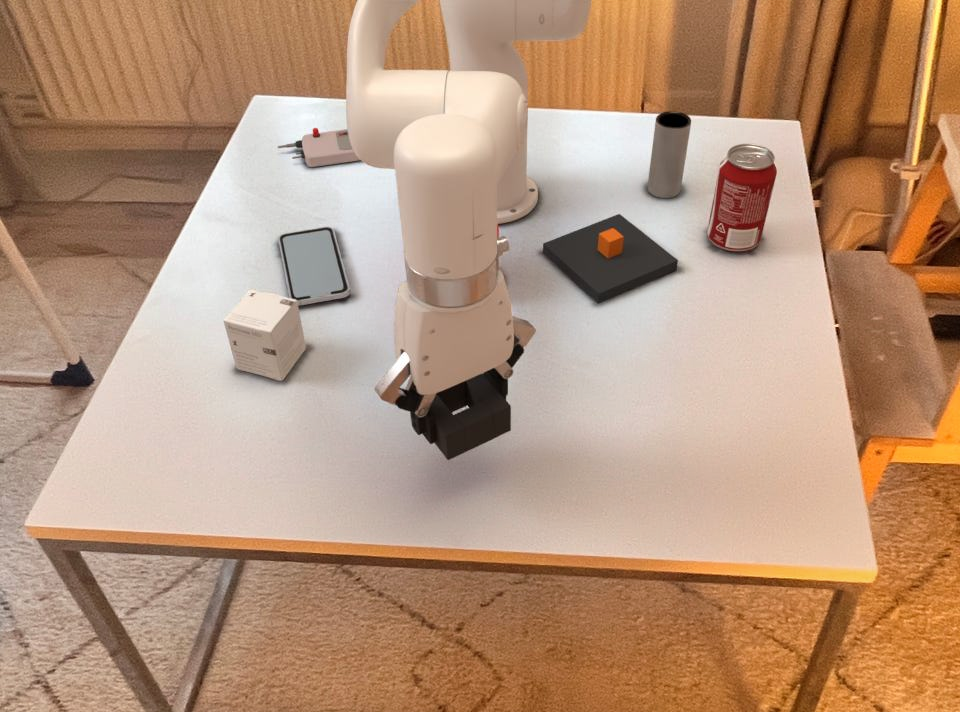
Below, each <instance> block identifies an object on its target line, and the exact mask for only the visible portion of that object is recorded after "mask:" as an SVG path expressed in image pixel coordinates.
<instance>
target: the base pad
mask: <svg viewBox="0 0 960 712" xmlns="http://www.w3.org/2000/svg"><path fill="white" fill-rule="evenodd" d="M542 254H543V255H544V256H545V257H546V258H547V259H548V260H550V261H551V262H552V263H553V264H554V265H555V266H556V267H557V268H558V269H560V271H562V272H563V273H564V274H565V275H566V276H567V277H568V278H569V279H571V280H572V281H573V282H574V283H575V285H577V286H579V287H580V289H582V290H583V291H584V292H585V293H586V294H587V295H589V297H590V298H591V299H593V300H594V301H595V302H596V303H597V304H600V303H602V302H604V301H607V300H610V299H612V298H614V297H616V296H619V295H621V294H623V293H625V292H628V291H631V290H633V289H635V288H637V287H640V286H642V285H645V284H647V283H649V282H652V281H654V280H656V279H659V278H661V277H664V276H666V275H669V274H670V273H673V272H675V271H677V270H678V264H679V260H678V259H677V258H676V257H675V256H674V255H672V254H671V253H669V252H668V251H667V250H666V249H665V248H664V247H662V246H661V245H660V244H658V243H657V242H656V241H655V240H653V239H652V238H651V237H650V236H648V235H647V234H646V233H644V232H643V231H642V230H641V229H639V228H638V227H637V226H636V225H634V224H633V223H632V222H631V221H630V220H628V219H627V218H626V217H624V216H623V215H622V214H621V213H618V214H615V215H613V216H610V217H607V218H604V219H602V220H599V221H597V222H594V223H591V224H589V225H587V226H584V227H581V228H579V229H577V230H574V231H572V232H569V233H566V234H563V235H561V236H558V237H556V238H552V239H550V240H549V241H546V242H543V243H542Z"/></svg>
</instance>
